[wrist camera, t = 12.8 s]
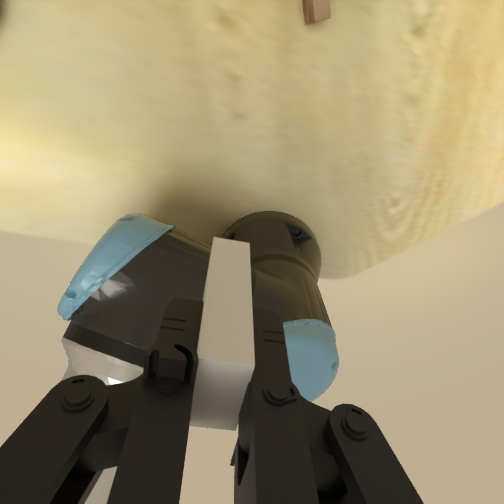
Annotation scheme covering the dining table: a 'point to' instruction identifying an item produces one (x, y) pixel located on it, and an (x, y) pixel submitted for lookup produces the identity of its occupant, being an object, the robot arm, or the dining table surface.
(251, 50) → the dining table surface
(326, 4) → the corner fence
